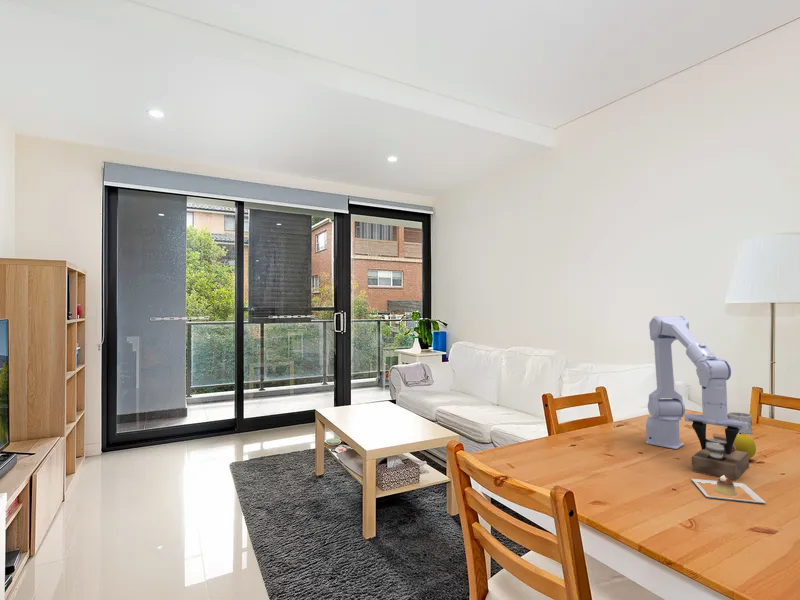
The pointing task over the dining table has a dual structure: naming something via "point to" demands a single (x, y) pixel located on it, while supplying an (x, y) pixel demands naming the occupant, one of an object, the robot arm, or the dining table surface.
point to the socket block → (721, 464)
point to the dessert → (728, 489)
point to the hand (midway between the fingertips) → (716, 451)
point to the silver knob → (715, 448)
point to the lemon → (745, 444)
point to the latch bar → (722, 437)
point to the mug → (744, 418)
